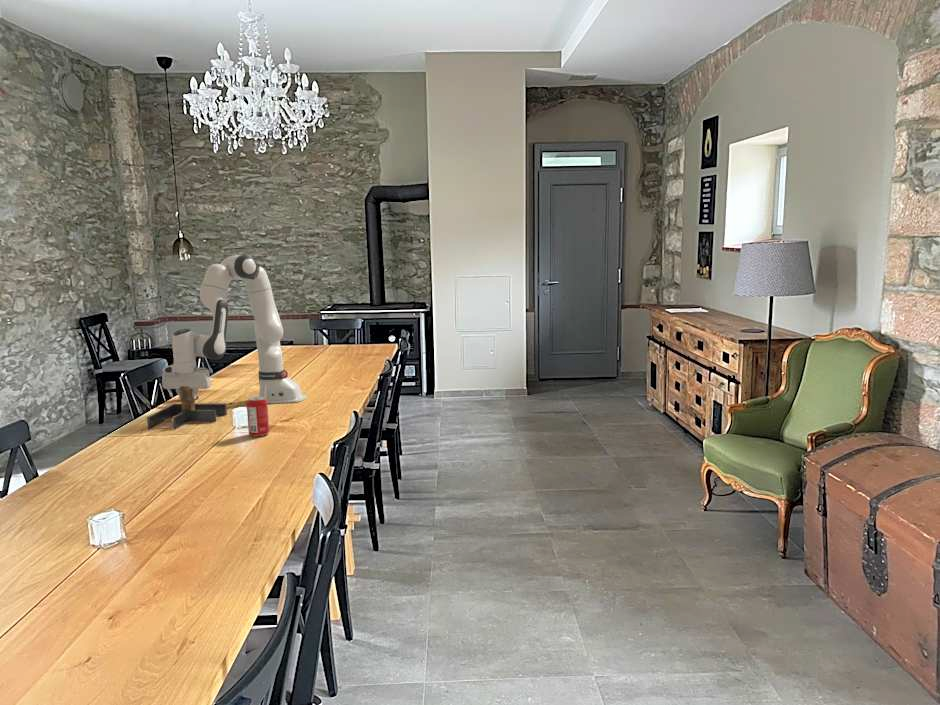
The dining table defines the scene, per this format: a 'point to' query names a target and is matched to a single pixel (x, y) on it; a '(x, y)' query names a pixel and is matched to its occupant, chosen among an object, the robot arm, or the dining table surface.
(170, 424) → the pad
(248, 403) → the soda can
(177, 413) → the channel
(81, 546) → the dining table surface
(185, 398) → the walnut block
